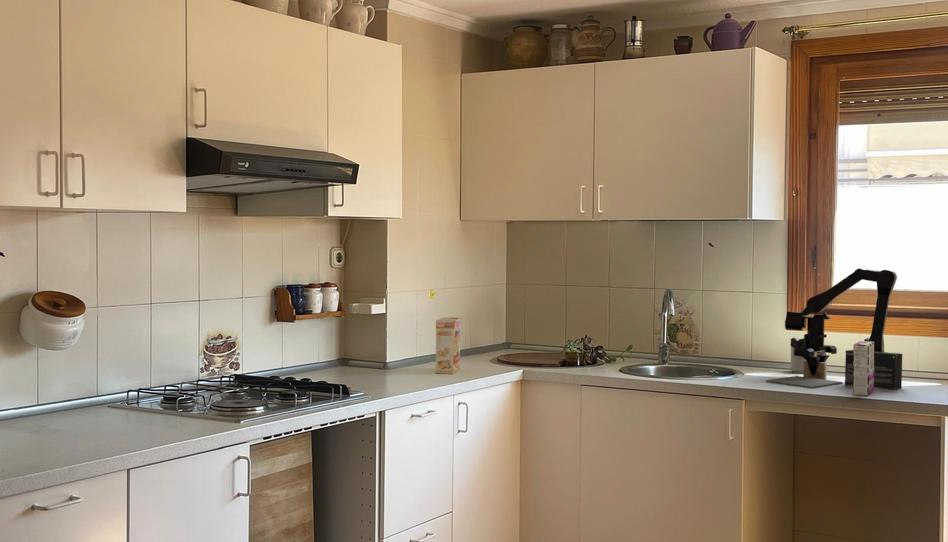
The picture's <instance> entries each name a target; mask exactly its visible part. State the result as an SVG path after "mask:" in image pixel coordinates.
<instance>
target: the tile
mask: <svg viewBox="0 0 948 542" xmlns="http://www.w3.org/2000/svg"><path fill="white" fill-rule="evenodd" d="M827 365H828V364H827V362H825V363H823V362H818V365H817V369H816V372H815V375H811V373H810V369H809V366H808V363H807V361H804V373H802V374H803V376H802V377H808V378H816V379H823V380H827V372H828V371H827V370H828V369H827V368H828V366H827Z"/></svg>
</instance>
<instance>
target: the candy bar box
mask: <svg viewBox="0 0 948 542" xmlns="http://www.w3.org/2000/svg"><path fill="white" fill-rule="evenodd" d="M852 350H854V351H853V385H852V390H853V391H852V395H853V394H854V395H853V396H861V395H867V396H866V397H870V395H871V394H873V392H875V388H874V342H868V341H864V340H861V341H860V340H859V341H857V342H855V343H854V344H853V348H852Z"/></svg>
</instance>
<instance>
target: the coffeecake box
mask: <svg viewBox="0 0 948 542" xmlns="http://www.w3.org/2000/svg"><path fill="white" fill-rule="evenodd" d="M461 319H462V318H461V317H454V316H452V317H451V316H450V317H449V316H448V317H442V318H439V319H436V320H435V374H440V375H442V374H444V375H454V374H455V373H457V372H458V371H459V370H460V369H461V324H462V323H461V322H462V320H461Z"/></svg>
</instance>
